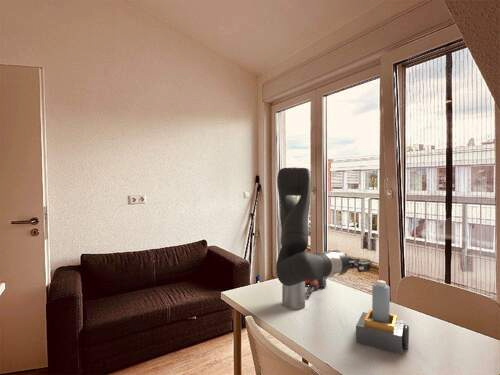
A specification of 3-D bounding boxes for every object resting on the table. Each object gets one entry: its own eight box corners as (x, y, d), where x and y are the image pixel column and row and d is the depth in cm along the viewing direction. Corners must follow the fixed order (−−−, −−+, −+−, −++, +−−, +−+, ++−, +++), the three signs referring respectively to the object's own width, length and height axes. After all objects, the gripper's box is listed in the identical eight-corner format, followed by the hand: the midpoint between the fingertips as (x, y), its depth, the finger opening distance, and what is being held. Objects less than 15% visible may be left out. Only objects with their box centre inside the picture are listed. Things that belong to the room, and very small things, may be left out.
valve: (302, 283, 166) (328, 283, 160) (287, 302, 143) (318, 303, 136) (300, 272, 166) (327, 271, 160) (285, 289, 143) (316, 290, 136)
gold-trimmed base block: (355, 342, 101) (356, 319, 101) (363, 327, 112) (363, 306, 111) (406, 356, 93) (407, 331, 93) (409, 339, 104) (409, 316, 103)
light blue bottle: (370, 324, 102) (371, 282, 101) (373, 318, 106) (373, 278, 106) (388, 328, 99) (388, 285, 98) (390, 322, 103) (390, 280, 103)
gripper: (353, 257, 83) (379, 253, 94) (312, 246, 94) (339, 243, 105) (350, 283, 83) (376, 277, 94) (309, 269, 94) (336, 264, 105)
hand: (356, 259), depth 99 cm, fingers open, 8 cm apart
